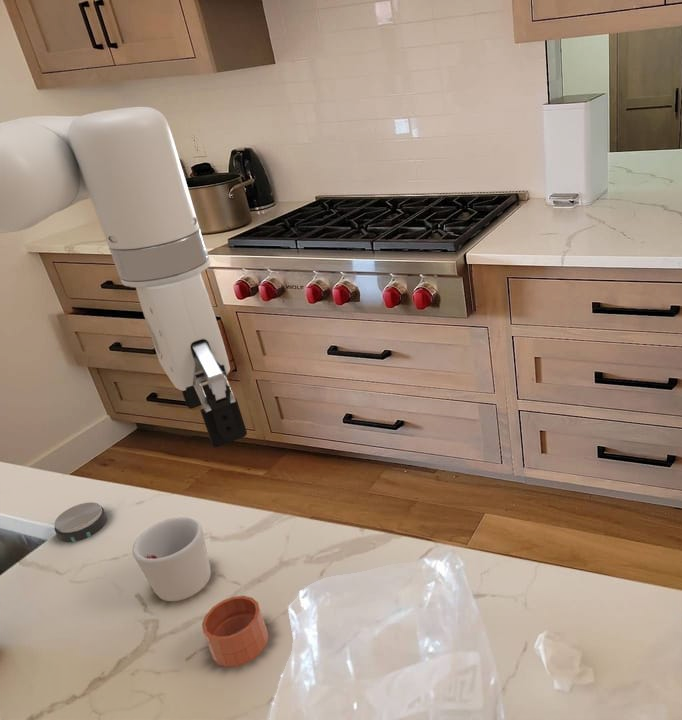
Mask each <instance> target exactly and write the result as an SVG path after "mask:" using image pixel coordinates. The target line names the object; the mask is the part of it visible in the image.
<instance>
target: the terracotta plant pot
mask: <svg viewBox="0 0 682 720" xmlns="http://www.w3.org/2000/svg"><path fill="white" fill-rule="evenodd" d="M201 628H202V633H203V636H204V639H205V642H206V644H207V647H208V649H209V651H210V654H211V657H212V659H213V661H214V662H215V663H216V664H217V665H218V666H222V667H225V668H233V667H239V666H242V665H244V664H247V663H250V662H251V661H252V660H254V659H255V658H257V657H258V656H259V655H260V654H261V653H262V652H263V650H264V649H265V647H266V646H267V643H268V640H269V633H268V629H267V626H266V623H265V619H264V617H263V613H262V611H261V608H260V605H259V602H258V601H257V600H255V598H253V597H251V596H247V595H238V596H231V597H230V598H226V599H223V600H222V601H220V602H218V603H217V604H215V605H214V606H212V607H211V609H209V611H208V612H207V613H206V614H205V615H204V618H203V620H202V623H201Z"/></svg>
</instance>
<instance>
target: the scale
mask: <svg viewBox="0 0 682 720" xmlns="http://www.w3.org/2000/svg"><path fill="white" fill-rule="evenodd" d="M107 522H108V516H107V514H106V512H105V508H103V506H101V504H99V503H97V502H84V503H80V504H76V505H74V506H72V507H70V508H68V509H66V510H64V511H63V512H61V513H60V514H59V515H58V516H57V517H56V519H55V521H54V532H55V534H56V536H57V537H58V539H59V540H60V541H61V542H64V543H75V542H79V541H83V540H85V539H87V538H90V537H92V536H94V535H95V534H97V533H98V532H100V530H102V529H103V527H105V526H106V524H107Z"/></svg>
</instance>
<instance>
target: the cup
mask: <svg viewBox="0 0 682 720" xmlns="http://www.w3.org/2000/svg"><path fill="white" fill-rule="evenodd" d="M132 555H133V558H134V560H135V562H136V563H137V565H138V566H139V568H140V571H141V572H142V573H143V575H144V577H145V578H146V580H147V582H148V583H149V585H150V587H151V589H152V590H153V592H154V593H155V594H156V596H157V597H158V598H159V599H161V600H162V601H165V602H179V601H183V600H186V599H188V598H190V597H192V596H194V595H196V594H197V593H199V592H200V591H201V590H203V588H204V587H205V586H206V585H207V584H208V583H209V581H210V578H211V563H210V560H209V554H208V549H207V545H206V541H205V535H204V530H203V526H202V525H201V523H200V522H199V521H198V520H196V519H195V518H192V517H187V516H182V517H181V516H177V517H171V518H168V519H164V520H162V521H160V522H157V523H156V524H154V525H153V524H152V526H150V527H148V528H147V529H146V530H144V531H143V532H142V533H141V534H140V535H139V536H138V537H137V538H136V540H135V542H134V544H133V546H132Z"/></svg>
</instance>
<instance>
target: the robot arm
mask: <svg viewBox="0 0 682 720" xmlns="http://www.w3.org/2000/svg"><path fill="white" fill-rule="evenodd" d="M89 199H90V200H91V203H92V205H93V208H94V211H95V214H96V216H97V219H98V222H99V224H100V226H101V230H102V233H103V235H104V237H105V240H106V243H107V246H108V250H109V252H110V255H111V257H112V260H113V263H114V266H115V268H116V271H117V273H118V274H117V275H118V277H119V279H120V283H121V284H122V285H123V286H124V287H129V288H135V290H136V293H137V297H138V301H139V304H140V308H141V310H142V313H143V317H144V319H145V322H146V325H147V328H148V331H149V334H150V337H151V340H152V344H153V346H154V350H155V353H156V357H157V358H158V359H157V360H158V362H159V364H160V366H161V368H162V369H163V371H164V372H165V374H166V376H167V377H168V378H169V380H170V382H171V383H172V385H173V386H174V388H176V389H177V390H179V391H181V393H182V395H183V398H184V402H185V404H186V407H187V408H188V409H195V408H198V407H201V406H202V408H201V409H200V413H201V416H202V419H203V422H204V425H205V429H206V431H207V435H208V437H209V440H210V443H211V445H212V446H213V447H214V448H220V447H222V446H225V445H228V444H230V443H232V442H235V441H237V440H240V439H242V438H245V437H246V436H247V434H248V432H247V428H246V425H245V421H244V419H243V415H242V412H241V409H240V406H239V403H238V399H237V398H236V396H235V394H234V392H233V390H232V387H231V385H230V382H229V380H228V378H227V376H228V375H229V373H230V371H231V365H230V361H229V356H228V353H227V350H226V346H225V343H224V338H223V336H222V333H221V330H220V326H219V323H218V321H217V318H216V314H215V311H214V308H213V305H212V302H211V299H210V295H209V292H208V290H207V288H206V285H205V281H204V279H203V277H202V272H205V271H206V270H207V269H208V268H209V267H210V266H211V261H210V257H209V254H208V250H207V246H206V244H205V240H204V237H203V234H202V231H201V227H200V224H199V221H198V218H197V215H196V210H195V207H194V204H193V201H192V197H191V193H190V190H189V186H188V184H187V180H186V177H185V174H184V170H183V168H182V164H181V161H180V156H179V153H178V150H177V146H176V143H175V139H174V136H173V133H172V131H171V128H170V124H169V122H168V120H167V118H166V117H165V115H164V114H163V113H162V112H161V111H159V110H157V109H156V108H154V107H149V106H130V107H121V108H115V109H108V110H101V111H95V112H91V113H87V114H83V115H72V116H71V115H32V116H24V117H19V118H15V119H11V120H5V121H2V122H0V234H8V233H16V232H21V231H25V230H28V229H30V228H32V227H34V226H35V225H37V224H39V223H41V222H43V221H44V220H46V219H49V217H51V216H53V215H54V214H56V213H59V212H61V211H64V210H65V209H68V208H70V207H71V206H74V205H75V204H77V203H80V202H82V201H86V200H89Z"/></svg>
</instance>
